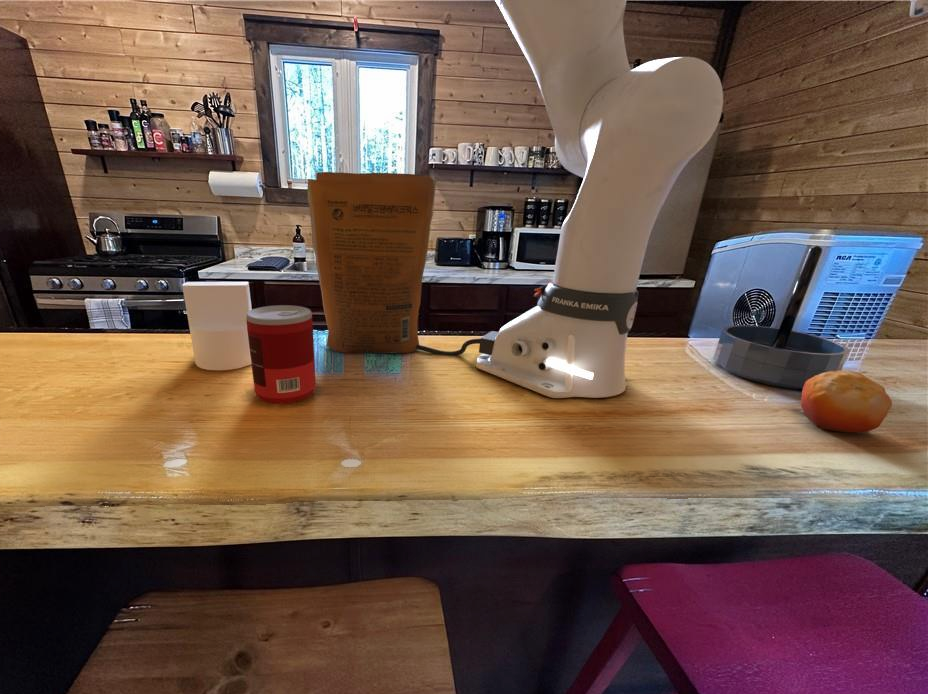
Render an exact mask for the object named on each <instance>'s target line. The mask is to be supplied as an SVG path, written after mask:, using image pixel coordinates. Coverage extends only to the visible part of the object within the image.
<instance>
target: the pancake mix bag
mask: <svg viewBox="0 0 928 694" xmlns="http://www.w3.org/2000/svg"><path fill="white" fill-rule="evenodd" d="M436 189H437V180H435V179H434V178H432V177H430V176H429V175H426V174H425V175H424V174H414V173H394V172H364V173H355V172H354V173H353V172H333V171H319V172H315V179H312V178H307V189H306V190H307V203H308V208H309V217H310V228H311V237H312V238H311V239H312V248H313V252H314V256H315V263H316V264H315V266H316V270H317V276H318V281H319V287H320V291H321V292H320V293H321V299H322V307H323V313H324V316H325V322H326V326H327V332H328V333H327V337H326V338H327V339H326V345H325V346H326V347H327V348H328V349H331V350H332V351H335V352H338V353H344V354H348V353H350V354H355V353H359V354H401V355H404V354H409V353H413V352H415V351H418V349H417V348H416V346H417V345H420V341H419V340H420V339H419V334H418V319H419V311H420V306H421V300H422V286H423V278H424V277H423V276H424V272H425V268H426V262H427V257H428V252H429V244H430V236H431V235H430V233H431V226H432V221H433V215H434V207H435V199H436Z"/></svg>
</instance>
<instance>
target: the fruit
mask: <svg viewBox="0 0 928 694" xmlns="http://www.w3.org/2000/svg"><path fill="white" fill-rule="evenodd" d="M801 390H802V391H801V398H800V407H801V411H800V413H803V414H804V416H805V417H806V418H807V419H808V420H809V421H810V422H811V423H812V424H813V425H814V426H816V428H818V429H822V430H827V431H833V432H839V433H840V432H841V433H842V432H843V433H857V434H862V433H867V432H870V431H873V430H876V429H878V428H879V427H880V426H881V424H882V423H883V421H884V420H885V418H886V417H887V416H888V414H889V411H890V409H891V407H892V405H893V402H892V399H891V398H890V395H889V394H888V393H887V391H886V388H885V387H884V386H883V385H881V384H880V383H878V382H876V381H874V380H872V379H870V378H869V377H867V376H865V375H864V374H862V373H860V372H858V371H853V370H841V371H829V372H825V373H821V374H819V375H816V376H814V377H812V378H811V379H808V380H807V381H806V382H805V384H804V387H803V389H801Z"/></svg>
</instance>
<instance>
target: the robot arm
mask: <svg viewBox="0 0 928 694" xmlns="http://www.w3.org/2000/svg"><path fill="white" fill-rule="evenodd" d="M495 2H496V4H497V6H498V8H499V10H500V11H501V13H502V15H503V17H504V19H505V21H506V22H507V24H508V26H509V28H510V31H511V32H512V34H513V36H514V38H515V40H516V41H517V43H518V45H519V47H520V49H521V51H522V53H523V54H524V57H525V58H526V61H527V62H528V64H529V66H530V68H531V70H532V73H533V75H534V78H535V79H536V82H537V84H538V88H539V90H540V94H541V97H542V100H543V103H544V106H545V109H546V113H547V115H548V119H549V122H550V125H551V128H552V130H553V133H554V150H555V154H556V157H557V160H558V161H559V163H560V165H561V166H562V167H563V168H564V169H565V170H566V171H568V172H570V173H571V174H573V175H576V176H577V177H580V178H583V179H582V183H581V185H580V187H579V190H578V193H577V195H576V199H575V200H574V203H573V205H572V208H571V209H570V212H569V213H568V214H567V216H566V217H565V218H564V221H563V223H562V225H561V227H560V233H559V240H558V246H557V251H556V252H557V253H556V258H555V265H554V271H553V276H552V280H550V281H548V282H547V283H545V284H543V285H541V286H539V287H538V288H534V291H535V293H534V295H533V297H535V298H537V304H536V306H534V307H532V308H530V309H529V310H527V311H525V312H524V313H522V314H520V315H518V316H517V317H516V318H514V319H512V320H510V321H509V322H507V323H505V324H504V325H503V326H501V328H499V330H498V331H495V330H491V331H489V332H487V333H486V334H485V335H482V336H481V337H479V338H471V339H468V340H466V341H465V342H463V343H462V345H461V348H460V349H458V350H454V351H446V350H440V349H435V348H432V347H429V346H425V345H422V344H419V345H417V346H416V348H417V350H418V351H422V352H426V353H430V354H433V355H439V356H440V355H441V356H456V357H457V356H460V355H462V354H464V353H465V352H466V350H467V348H468V347H469V346H471V345H477V344H479V345H478V346H479V347H478V354H480V355H479V356H478V357H477V359H476V363H475V367H476V368H477V369H478V370H480V371H484V372H486V373H489V374H491V375H493V376H496V377H498V378H501V379H503V380H506V381H508V382H511V383H512V384H516V385H518V386H521V387H523V388H526V389H528V390H531V391H534V392H536V393H538V394H541V395H543V396H545V397H548V398H552V399H566V398H590V399H594V398H595V399H598V398H610V397H614V396H618V395H620V394H623V393H624V392H625V391H626V389H627V382H626V350H627V341H628V333H629V332H630V331H631V329H632V327H633V324H634V321H635V317H636V312H637V308H638V304H639V303H638V299H639V291H638V290H637V289H638V283H639V279H640V275H641V270H642V267H643V263H644V260H645V255H646V252H647V247H648V243H649V240H650V236H651V234H652V230H653V228H654V226H655V223H656V221H657V218H658V216H659V214H660V211H661V210H662V208H663V206H664V204H665V202H666V200H667V198H668V196H669V194H670V192H671V190H672V188H673V186H674V185H675V183H676V181H677V180H678V178H679V176H680V175H681V173H682V171H683V170H684V168H685V167H686V165H687V164H689V162H690V161H691V160H692V159H693V158H694V157H695V156H696V155H697V154H698V153H699V152H700V151H701V150H702V149H703V148H704V147H705V146H706V145H707V144H708V142H709V141H710V140H711V138H712V137H713V135H714V133H715V132H716V130H717V127H718V125H719V123H720V119H721V117H722V113H723V107H724V91H723V85H722V81H721V78H720V77H719V75H718V73H717V71H716V70H715V69H714V68H713V66H712V65H710V64H709V63H708V62H707V61H705V60H703V59H701V58H698V57H693V56H677V57H666V58H659V59H654V60H651V61H647V62H645V63H643V64H640V65H639V66H636V67H635V68H633V69H631V66H630V63H629V58H628V54H627V50H626V49H627V48H626V43H625V34H624V16H625V13H626V5H627V0H495ZM909 2H910V7H909V8H910V9H909V13H908V14H909V17H910V18H918V17H922V16H924V15H926V14H928V0H909Z"/></svg>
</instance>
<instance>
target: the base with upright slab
mask: <svg viewBox="0 0 928 694" xmlns="http://www.w3.org/2000/svg"><path fill="white" fill-rule="evenodd" d="M249 283H250V282H249V281H186V282H184V283H182V284H181V286H182V292H183V299H184V303H185V304H184V305H185V309H186V315H187V321H188V322H187V323H188V327H189V333H190V338H191V339H190V340H191V345H192V351H193V356H194V363H195V366H197V368H199V369H202V370H207V371H230V370H237V369H242V368H244V367H248V366H250V365H251V356H250V348H249V340H248V332H247V321H246V313H247V312H249V311H250V310H253V308H252V300H251V291H250V284H249Z"/></svg>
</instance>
